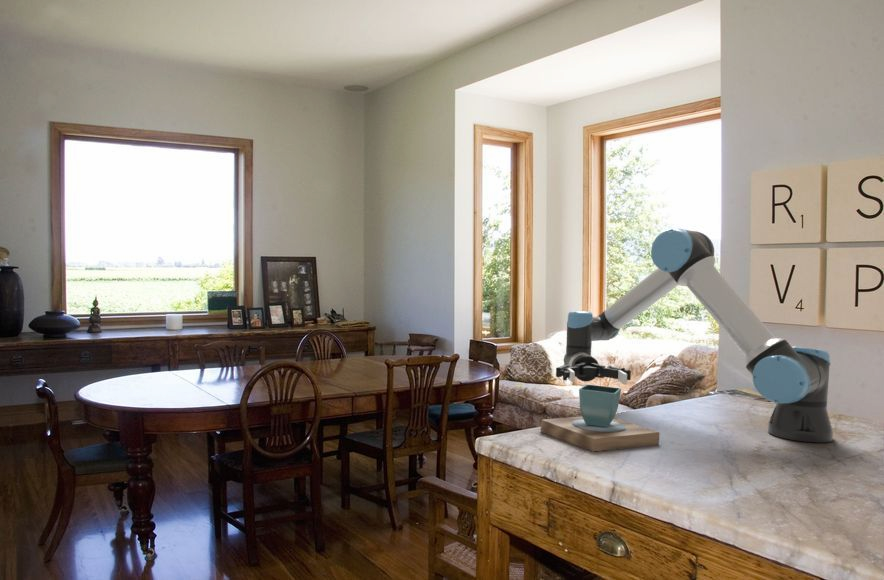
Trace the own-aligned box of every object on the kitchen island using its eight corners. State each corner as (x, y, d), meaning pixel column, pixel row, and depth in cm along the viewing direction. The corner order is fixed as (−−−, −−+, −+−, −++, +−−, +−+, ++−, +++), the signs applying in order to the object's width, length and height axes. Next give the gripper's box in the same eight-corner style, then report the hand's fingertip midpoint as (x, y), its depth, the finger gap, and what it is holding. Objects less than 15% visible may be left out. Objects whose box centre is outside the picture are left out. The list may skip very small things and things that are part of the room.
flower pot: (619, 423, 172) (621, 387, 172) (613, 430, 164) (615, 393, 164) (584, 419, 176) (586, 383, 175) (576, 426, 168) (578, 389, 167)
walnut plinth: (658, 444, 166) (659, 431, 166) (593, 452, 156) (594, 438, 156) (602, 425, 183) (603, 413, 183) (540, 431, 174) (541, 418, 174)
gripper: (626, 381, 203) (646, 394, 181) (540, 378, 203) (550, 390, 182) (627, 355, 202) (647, 365, 181) (541, 352, 203) (552, 362, 182)
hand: (599, 378), depth 181 cm, fingers open, 13 cm apart
